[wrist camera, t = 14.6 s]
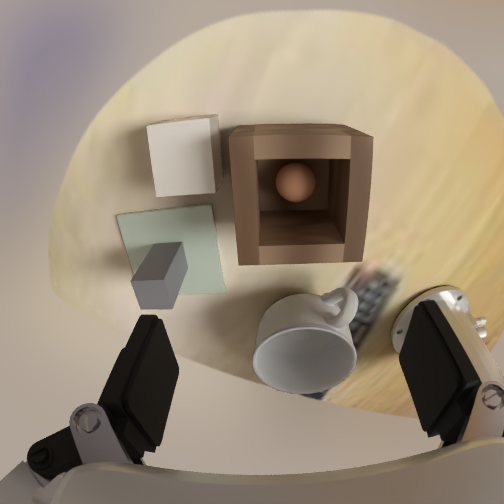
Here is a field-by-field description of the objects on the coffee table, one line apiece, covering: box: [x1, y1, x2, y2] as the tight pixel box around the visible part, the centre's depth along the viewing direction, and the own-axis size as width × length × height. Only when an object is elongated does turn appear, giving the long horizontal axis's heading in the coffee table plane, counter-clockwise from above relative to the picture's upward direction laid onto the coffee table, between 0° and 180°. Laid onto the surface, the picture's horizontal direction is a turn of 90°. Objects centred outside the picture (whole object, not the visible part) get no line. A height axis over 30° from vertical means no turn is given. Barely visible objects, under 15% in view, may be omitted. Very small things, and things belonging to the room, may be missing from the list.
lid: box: [117, 204, 226, 309], centre depth 29 cm, size 10×10×8 cm
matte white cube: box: [146, 114, 223, 197], centre depth 25 cm, size 5×6×5 cm
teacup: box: [252, 287, 358, 394], centre depth 32 cm, size 14×11×8 cm
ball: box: [276, 163, 316, 202], centre depth 25 cm, size 3×3×3 cm
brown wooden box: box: [228, 124, 373, 265], centre depth 24 cm, size 10×10×8 cm
